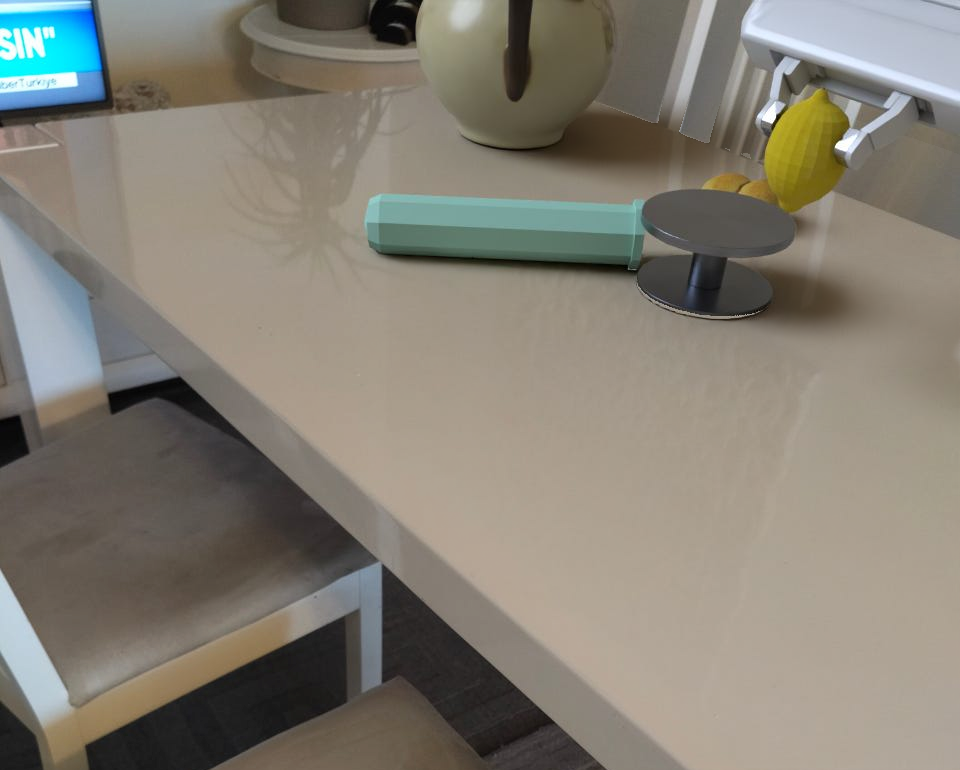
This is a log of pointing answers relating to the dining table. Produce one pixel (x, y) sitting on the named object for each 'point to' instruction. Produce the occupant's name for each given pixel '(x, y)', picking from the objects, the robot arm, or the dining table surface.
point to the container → (506, 228)
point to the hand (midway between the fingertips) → (802, 146)
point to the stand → (712, 250)
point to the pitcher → (516, 64)
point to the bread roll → (743, 187)
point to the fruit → (805, 151)
